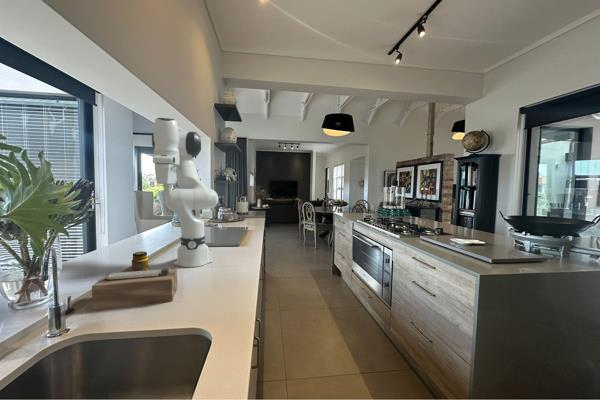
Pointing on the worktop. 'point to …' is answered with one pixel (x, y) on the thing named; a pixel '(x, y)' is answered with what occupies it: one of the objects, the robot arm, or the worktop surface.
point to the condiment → (140, 261)
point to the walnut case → (134, 290)
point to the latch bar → (132, 274)
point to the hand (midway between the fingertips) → (167, 195)
